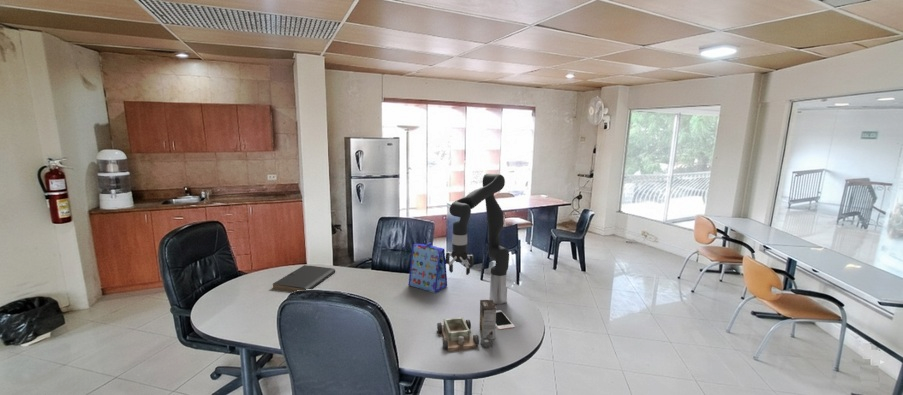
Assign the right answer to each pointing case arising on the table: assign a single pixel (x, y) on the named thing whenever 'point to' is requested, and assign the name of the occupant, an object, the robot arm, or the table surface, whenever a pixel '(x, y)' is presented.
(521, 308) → the table surface
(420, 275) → the lunch bag
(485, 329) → the coffee box
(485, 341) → the loose wheel
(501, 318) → the cell phone
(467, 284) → the table surface
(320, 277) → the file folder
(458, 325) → the chassis
